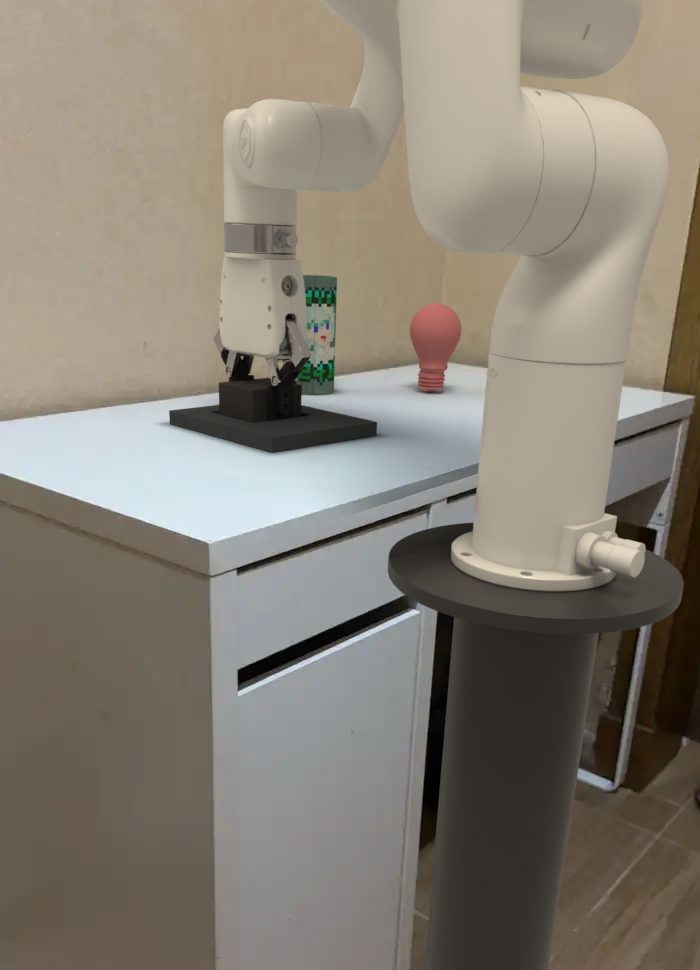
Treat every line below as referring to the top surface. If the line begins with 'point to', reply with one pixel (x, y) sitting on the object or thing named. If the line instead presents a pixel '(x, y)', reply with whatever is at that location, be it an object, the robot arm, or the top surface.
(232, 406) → the black block
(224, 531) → the top surface
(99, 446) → the top surface
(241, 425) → the base pad
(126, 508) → the top surface
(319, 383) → the can
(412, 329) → the light bulb
